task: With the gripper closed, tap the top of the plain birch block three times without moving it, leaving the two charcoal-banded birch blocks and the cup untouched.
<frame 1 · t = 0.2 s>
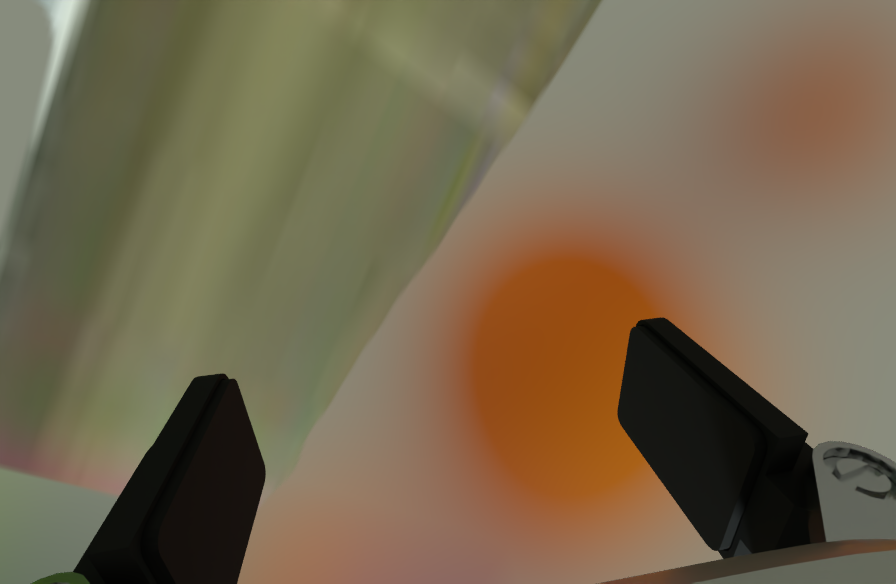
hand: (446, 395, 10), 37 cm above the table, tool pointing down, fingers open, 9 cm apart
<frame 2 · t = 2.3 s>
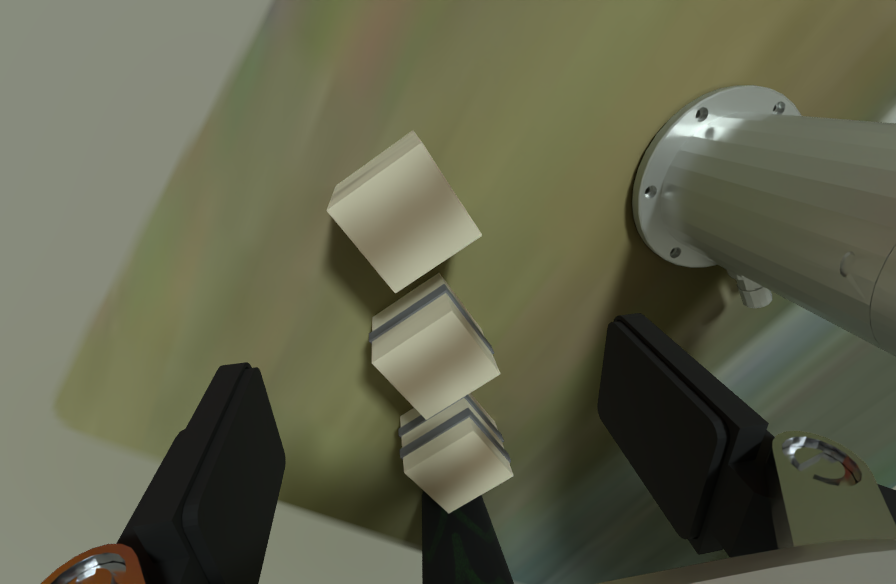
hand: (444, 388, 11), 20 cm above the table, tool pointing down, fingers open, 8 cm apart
banded block two: (448, 418, 38), on the table
cup: (450, 493, 42), on the table
banded block one: (428, 322, 33), on the table
plain block: (401, 196, 29), on the table
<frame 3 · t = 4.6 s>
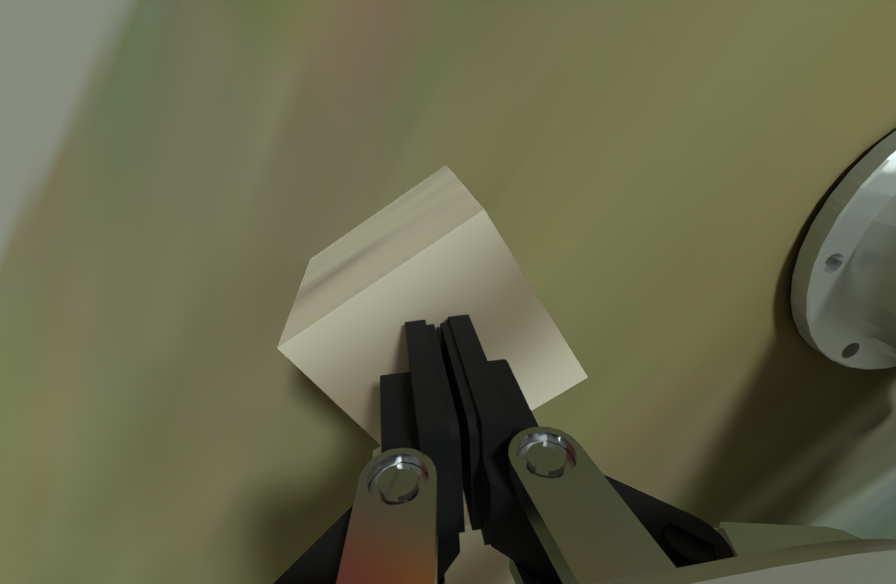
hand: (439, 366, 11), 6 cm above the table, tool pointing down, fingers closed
banded block one: (459, 453, 21), on the table
plain block: (423, 274, 17), on the table
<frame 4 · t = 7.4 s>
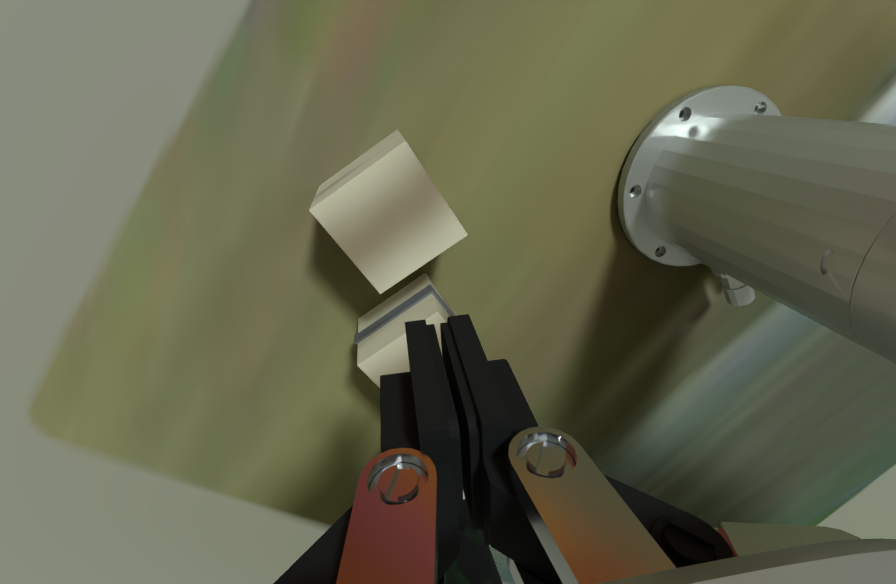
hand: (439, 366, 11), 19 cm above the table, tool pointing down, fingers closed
cup: (439, 494, 42), on the table
banded block one: (415, 323, 33), on the table
plain block: (386, 196, 28), on the table
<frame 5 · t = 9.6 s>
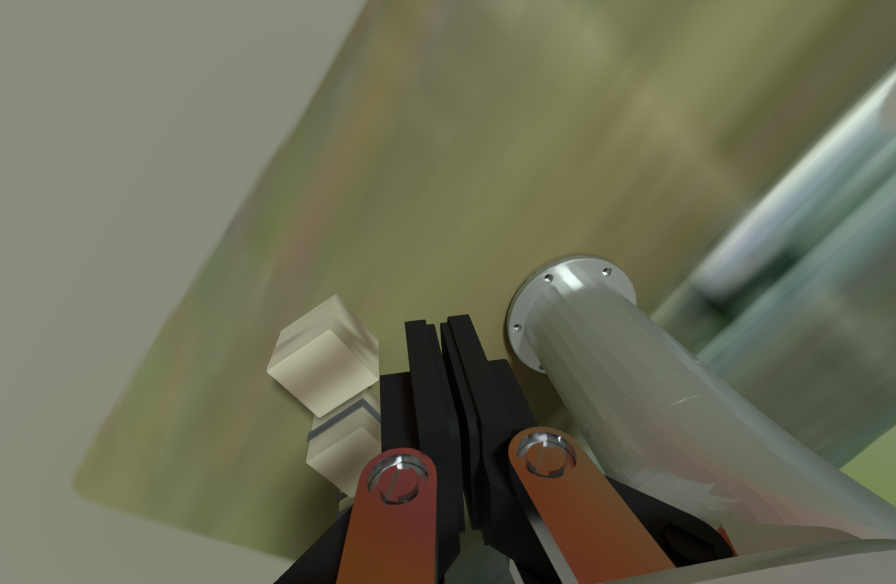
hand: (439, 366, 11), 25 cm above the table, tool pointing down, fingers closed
banded block one: (358, 416, 43), on the table
plain block: (330, 335, 39), on the table
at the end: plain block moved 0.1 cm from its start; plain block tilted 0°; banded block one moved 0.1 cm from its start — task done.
